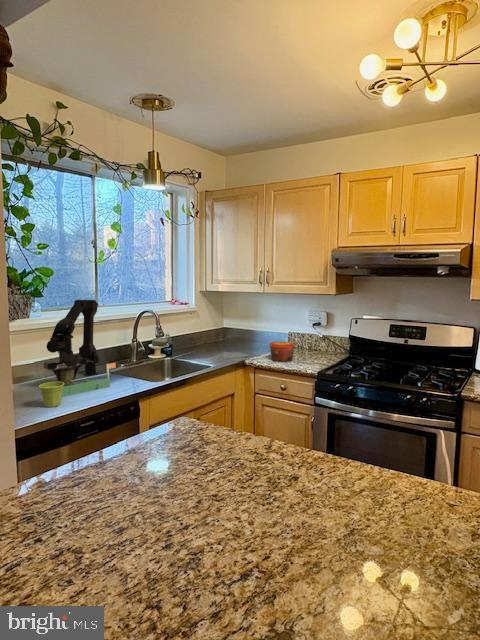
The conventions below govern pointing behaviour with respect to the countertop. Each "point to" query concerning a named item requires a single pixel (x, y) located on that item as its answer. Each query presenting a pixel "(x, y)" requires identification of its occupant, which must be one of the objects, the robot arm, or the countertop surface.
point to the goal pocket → (88, 384)
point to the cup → (66, 375)
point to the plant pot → (52, 393)
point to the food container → (282, 351)
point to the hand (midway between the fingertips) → (66, 380)
